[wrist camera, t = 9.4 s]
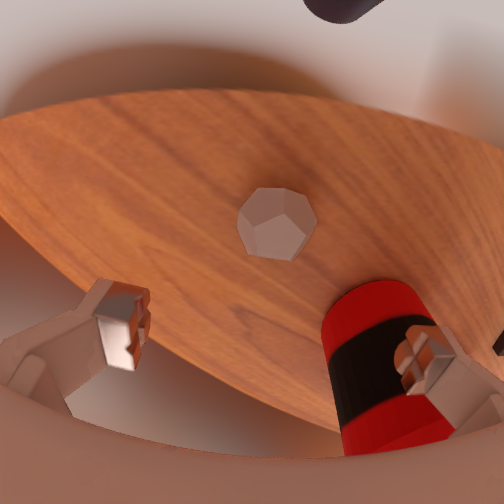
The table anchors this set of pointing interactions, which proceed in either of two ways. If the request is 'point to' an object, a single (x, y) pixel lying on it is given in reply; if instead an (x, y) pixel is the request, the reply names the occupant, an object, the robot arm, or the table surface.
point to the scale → (499, 346)
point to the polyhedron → (276, 223)
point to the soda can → (377, 370)
